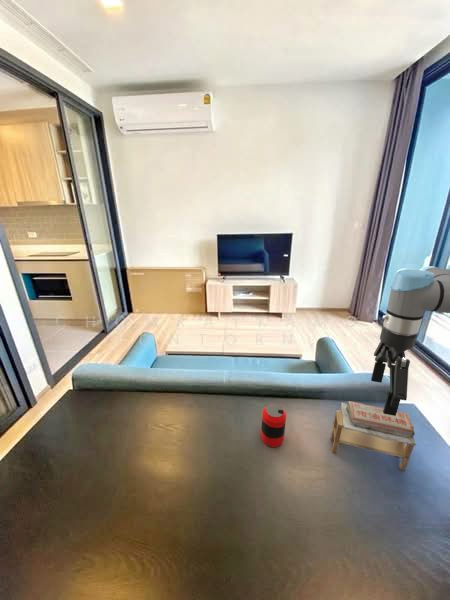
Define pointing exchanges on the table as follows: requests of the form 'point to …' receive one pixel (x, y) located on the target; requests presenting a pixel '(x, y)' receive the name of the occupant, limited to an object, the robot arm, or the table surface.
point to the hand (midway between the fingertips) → (382, 396)
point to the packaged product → (378, 422)
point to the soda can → (273, 425)
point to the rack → (368, 441)
